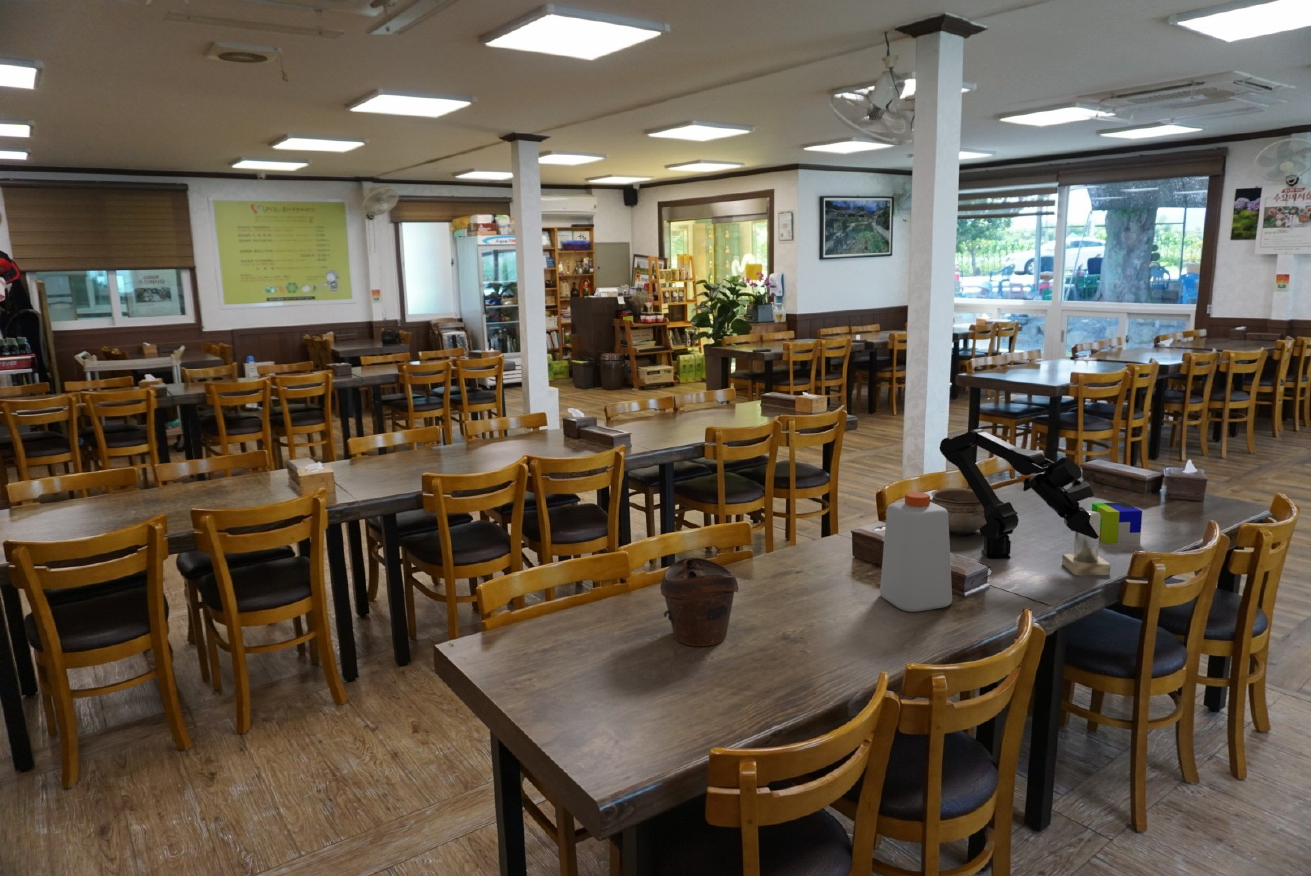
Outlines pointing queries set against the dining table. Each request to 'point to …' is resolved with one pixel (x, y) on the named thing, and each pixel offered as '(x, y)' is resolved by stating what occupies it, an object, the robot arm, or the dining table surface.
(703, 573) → the brown lidded bucket
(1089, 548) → the metal cylinder
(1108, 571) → the birch block
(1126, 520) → the puzzle toy
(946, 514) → the plastic bottle
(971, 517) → the cooking pot
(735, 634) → the dining table surface
